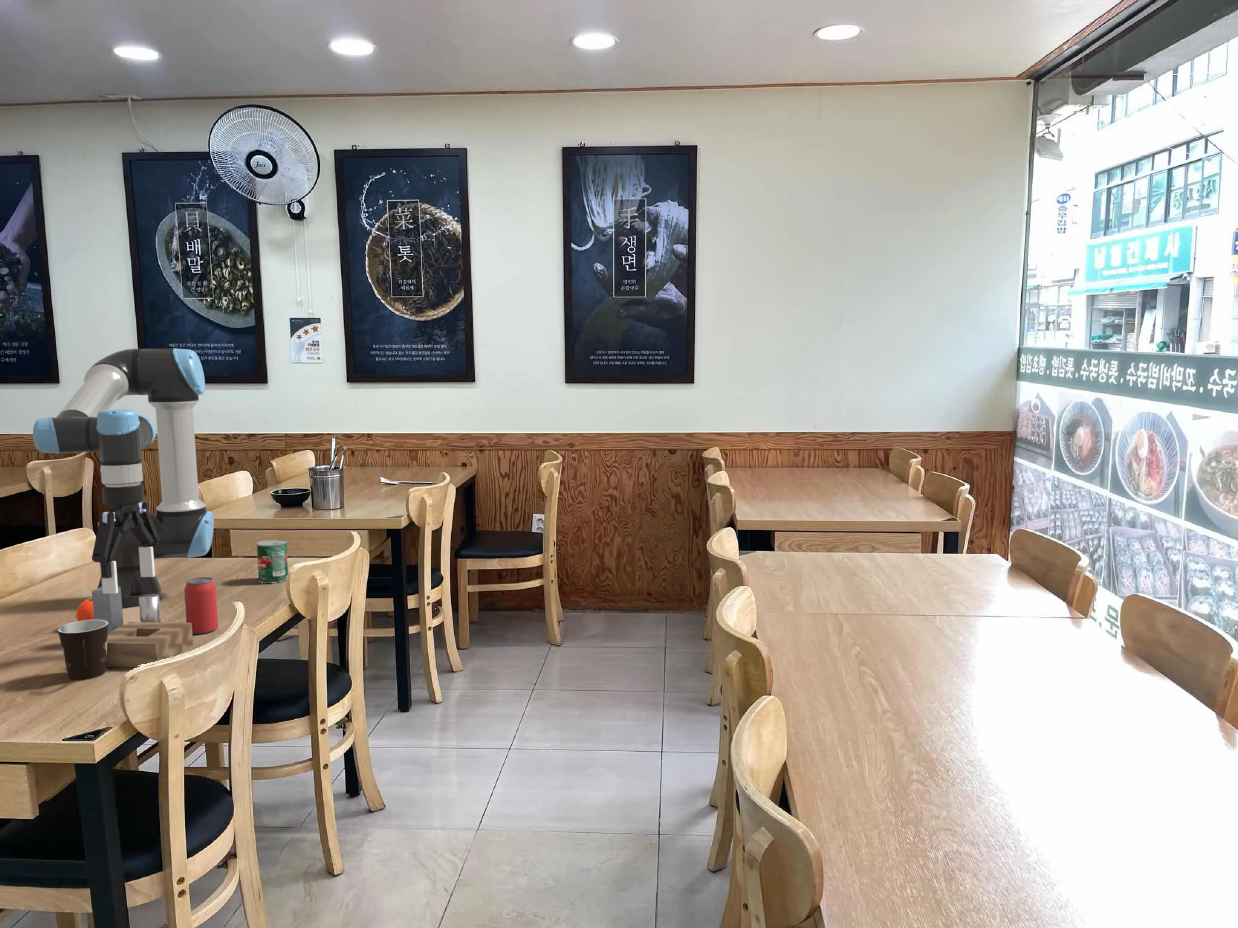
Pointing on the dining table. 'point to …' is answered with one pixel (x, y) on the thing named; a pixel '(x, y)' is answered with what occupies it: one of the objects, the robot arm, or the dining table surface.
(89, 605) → the clementine
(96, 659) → the coffee mug
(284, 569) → the canned tomato
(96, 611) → the square bit
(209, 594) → the beer can
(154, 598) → the cylinder
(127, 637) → the socket block
